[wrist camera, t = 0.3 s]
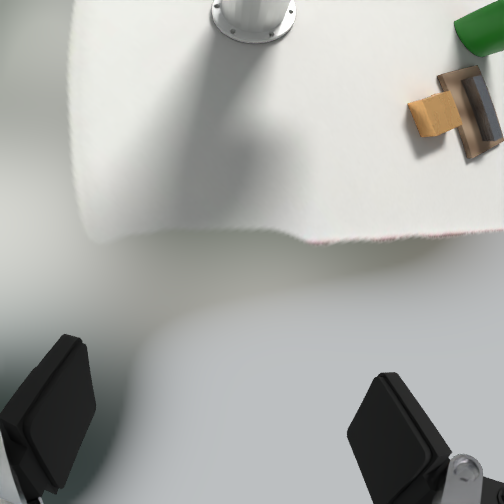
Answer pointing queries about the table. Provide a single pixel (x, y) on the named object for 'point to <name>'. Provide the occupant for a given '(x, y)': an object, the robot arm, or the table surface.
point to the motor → (483, 29)
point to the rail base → (466, 111)
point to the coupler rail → (482, 108)
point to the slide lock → (435, 114)
